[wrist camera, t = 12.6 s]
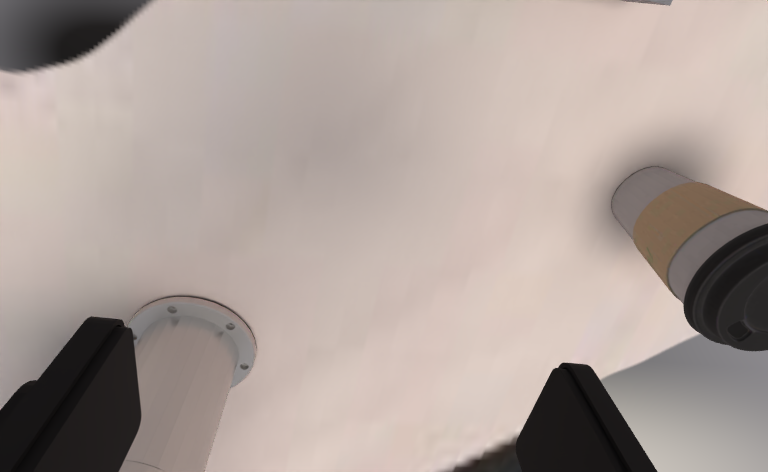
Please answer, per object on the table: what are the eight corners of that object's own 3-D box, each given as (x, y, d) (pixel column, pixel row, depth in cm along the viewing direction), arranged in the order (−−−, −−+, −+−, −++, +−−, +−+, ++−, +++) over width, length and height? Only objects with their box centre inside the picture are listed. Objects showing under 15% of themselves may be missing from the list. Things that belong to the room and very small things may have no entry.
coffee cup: (574, 231, 41) (674, 349, 28) (625, 134, 36) (772, 221, 24) (662, 249, 43) (794, 369, 30) (722, 159, 38) (909, 253, 25)
